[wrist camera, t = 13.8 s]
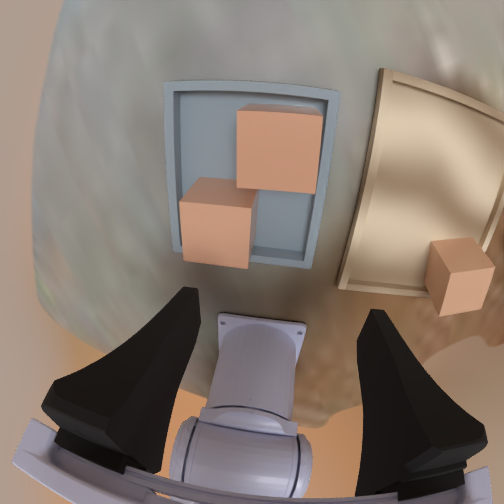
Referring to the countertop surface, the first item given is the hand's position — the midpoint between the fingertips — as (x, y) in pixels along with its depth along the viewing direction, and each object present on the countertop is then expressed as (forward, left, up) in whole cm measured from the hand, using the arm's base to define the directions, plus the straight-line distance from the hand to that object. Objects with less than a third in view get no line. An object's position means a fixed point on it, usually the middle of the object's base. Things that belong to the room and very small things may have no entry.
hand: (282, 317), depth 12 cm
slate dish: (+2, +3, -10) cm, 11 cm away
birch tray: (+2, -10, -10) cm, 15 cm away
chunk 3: (-2, -13, -10) cm, 17 cm away
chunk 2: (+5, +1, -10) cm, 11 cm away
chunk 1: (0, +4, -10) cm, 10 cm away
